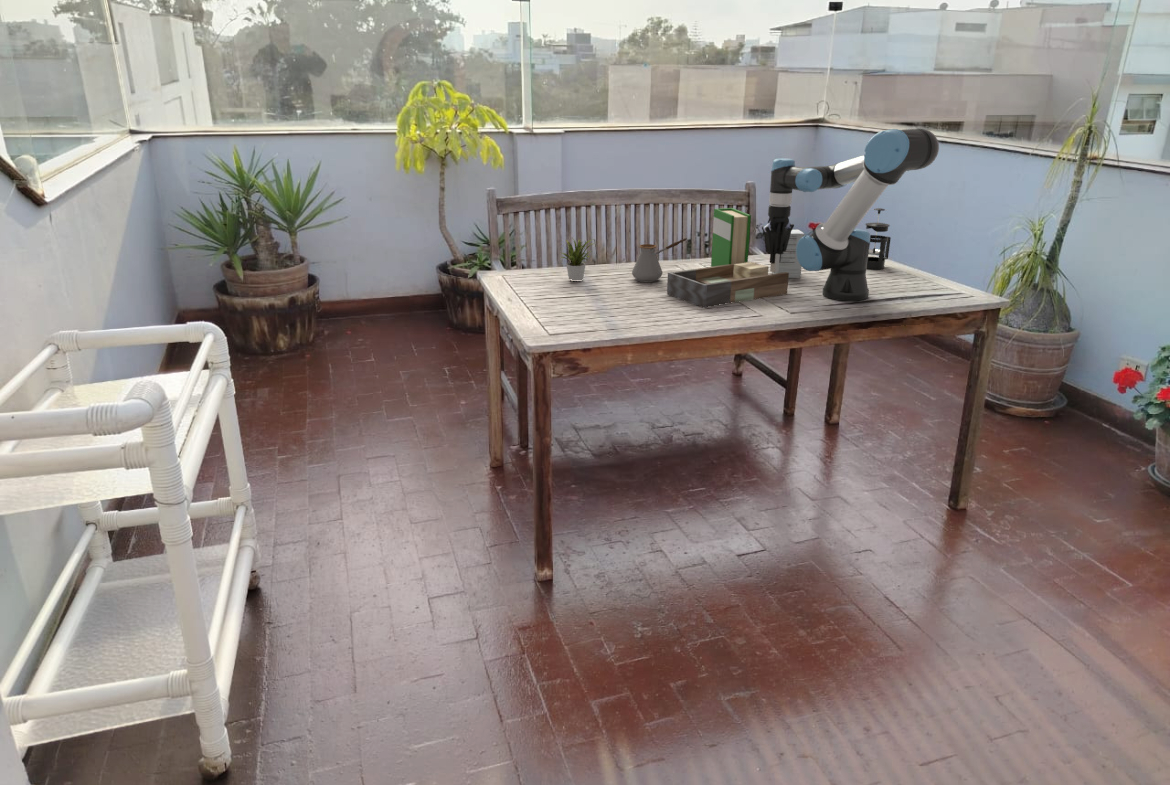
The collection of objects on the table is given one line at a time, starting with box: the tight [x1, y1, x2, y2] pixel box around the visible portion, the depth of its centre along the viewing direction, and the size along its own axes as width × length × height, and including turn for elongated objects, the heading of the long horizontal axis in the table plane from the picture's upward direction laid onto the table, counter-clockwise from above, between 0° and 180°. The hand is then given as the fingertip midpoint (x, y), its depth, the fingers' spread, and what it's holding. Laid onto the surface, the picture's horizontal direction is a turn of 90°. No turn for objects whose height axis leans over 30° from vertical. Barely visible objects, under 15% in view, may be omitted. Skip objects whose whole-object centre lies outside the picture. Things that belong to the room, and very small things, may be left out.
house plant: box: [558, 236, 595, 280], centre depth 295 cm, size 14×14×16 cm
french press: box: [864, 207, 892, 271], centre depth 313 cm, size 12×9×23 cm
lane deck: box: [666, 262, 790, 308], centre depth 277 cm, size 21×36×8 cm, turn 119°
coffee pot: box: [631, 237, 689, 283], centre depth 297 cm, size 21×12×15 cm, turn 103°
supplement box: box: [771, 229, 806, 279], centre depth 301 cm, size 10×9×17 cm
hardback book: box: [710, 207, 752, 267], centre depth 300 cm, size 18×7×24 cm, turn 12°
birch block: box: [733, 261, 769, 279], centre depth 281 cm, size 9×8×5 cm
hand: (774, 271), depth 286 cm, fingers closed
